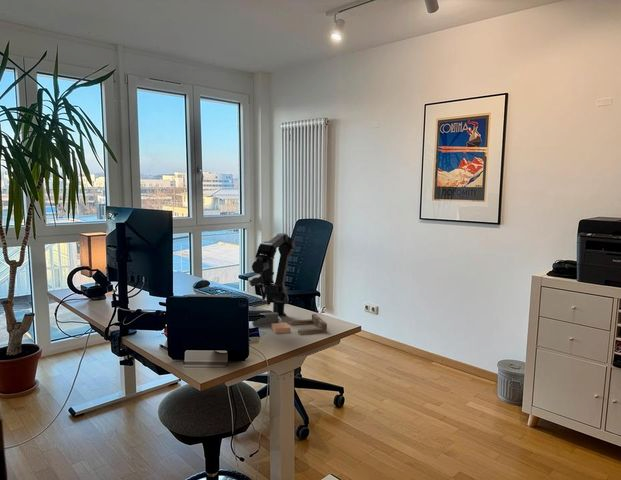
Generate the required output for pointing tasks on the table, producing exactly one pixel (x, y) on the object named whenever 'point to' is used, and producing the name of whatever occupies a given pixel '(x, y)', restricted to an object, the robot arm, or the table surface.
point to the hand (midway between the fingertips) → (266, 302)
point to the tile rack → (315, 320)
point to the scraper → (268, 319)
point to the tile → (280, 327)
